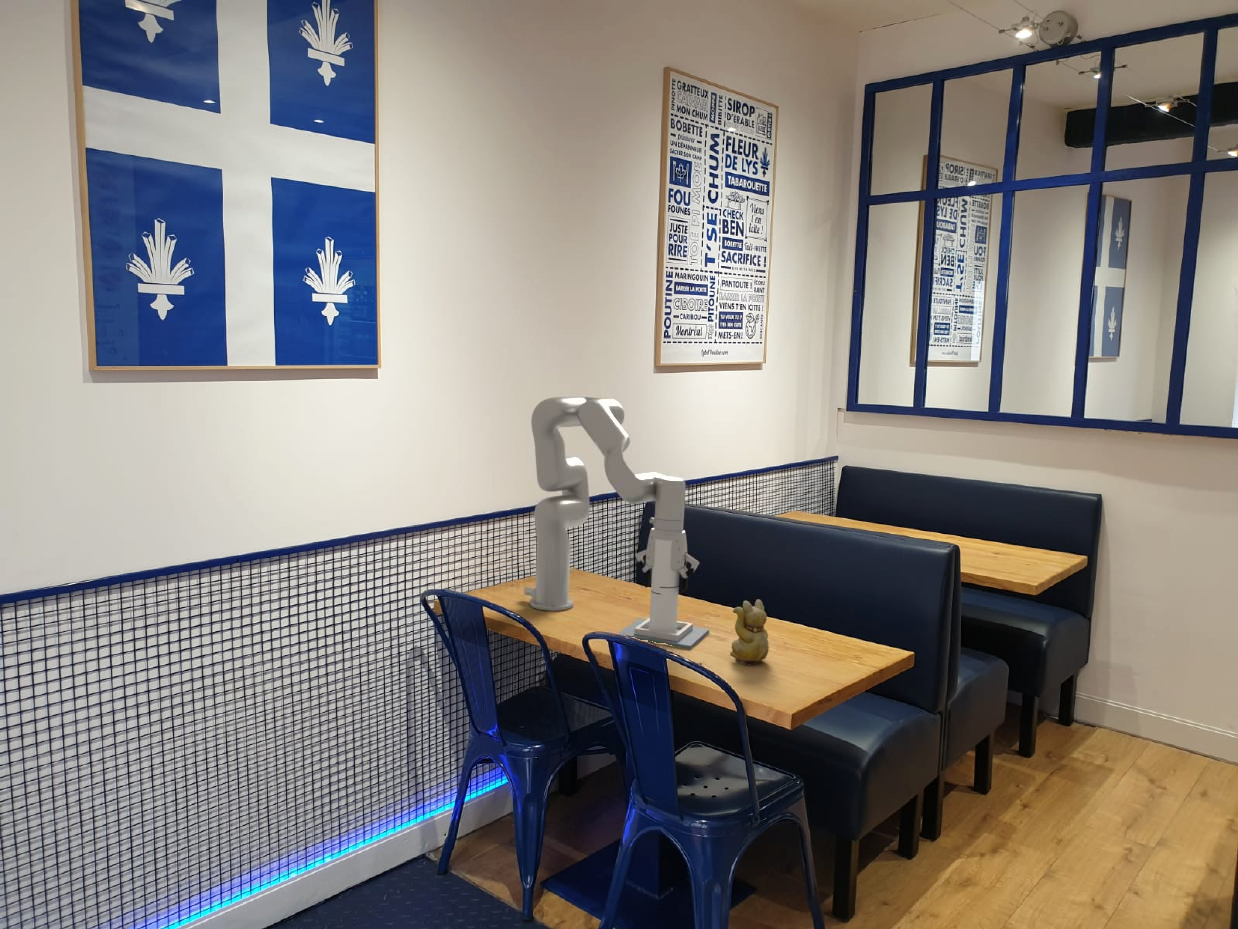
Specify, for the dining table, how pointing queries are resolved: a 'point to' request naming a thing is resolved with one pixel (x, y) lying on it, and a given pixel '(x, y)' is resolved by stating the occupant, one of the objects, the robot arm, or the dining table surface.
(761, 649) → the decorative figurine
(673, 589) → the cylindrical container
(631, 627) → the collar board
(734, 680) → the dining table surface
